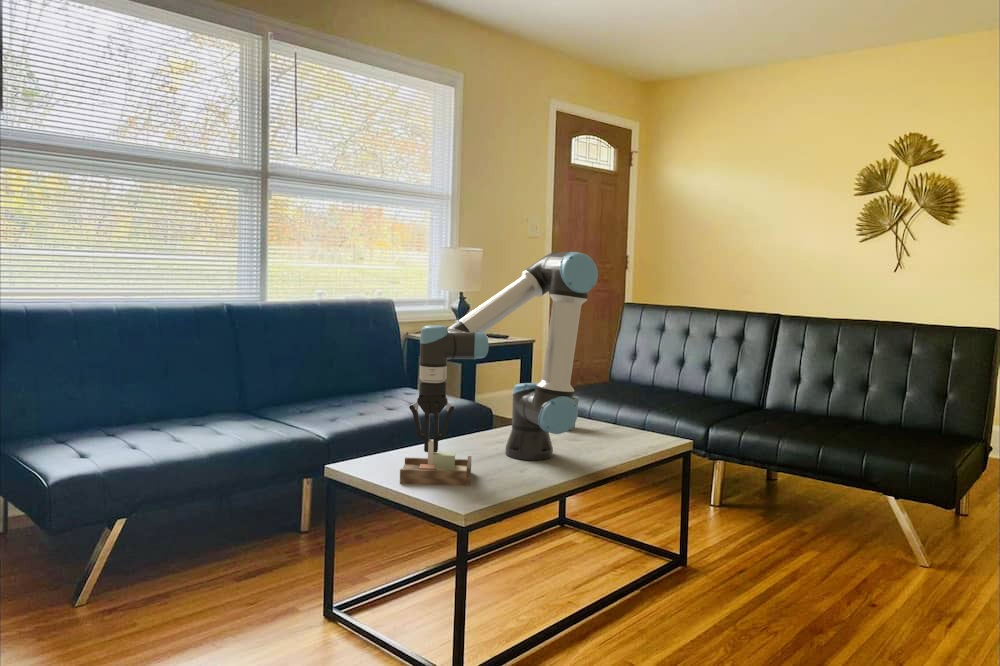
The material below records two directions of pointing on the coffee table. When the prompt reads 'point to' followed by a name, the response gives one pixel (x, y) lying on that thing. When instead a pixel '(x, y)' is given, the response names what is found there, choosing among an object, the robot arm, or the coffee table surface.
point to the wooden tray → (436, 473)
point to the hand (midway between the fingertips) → (430, 463)
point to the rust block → (427, 467)
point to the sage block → (444, 460)
